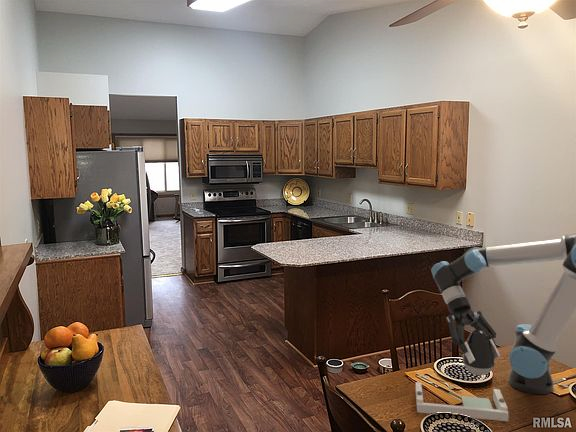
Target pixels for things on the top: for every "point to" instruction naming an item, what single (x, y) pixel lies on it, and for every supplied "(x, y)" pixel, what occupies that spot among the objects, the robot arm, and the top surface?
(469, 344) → the dark grey tapered dome
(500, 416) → the track
